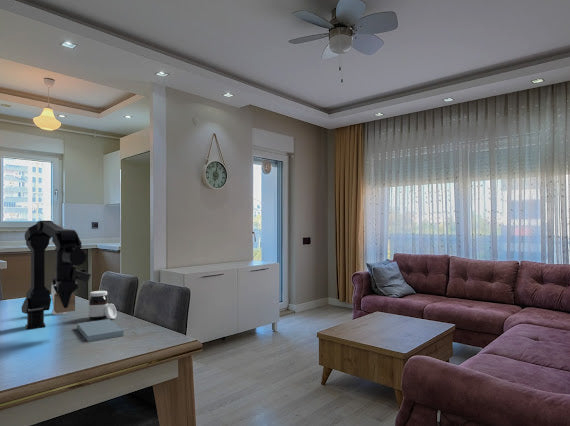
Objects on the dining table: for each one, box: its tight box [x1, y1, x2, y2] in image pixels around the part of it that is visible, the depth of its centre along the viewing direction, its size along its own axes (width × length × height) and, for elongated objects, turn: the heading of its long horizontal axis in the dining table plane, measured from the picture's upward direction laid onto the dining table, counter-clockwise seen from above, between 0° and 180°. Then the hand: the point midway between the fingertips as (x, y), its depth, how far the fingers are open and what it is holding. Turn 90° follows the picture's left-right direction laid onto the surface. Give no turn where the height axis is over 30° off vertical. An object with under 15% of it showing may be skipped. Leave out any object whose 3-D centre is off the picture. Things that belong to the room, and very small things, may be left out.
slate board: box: [76, 318, 124, 343], centre depth 148 cm, size 22×12×2 cm, turn 37°
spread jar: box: [88, 290, 118, 321], centre depth 170 cm, size 12×11×12 cm
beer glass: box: [50, 284, 68, 316], centre depth 180 cm, size 7×7×15 cm
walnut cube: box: [54, 292, 76, 313], centre depth 141 cm, size 6×6×6 cm
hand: (64, 306), depth 141 cm, fingers closed on walnut cube, 6 cm apart
